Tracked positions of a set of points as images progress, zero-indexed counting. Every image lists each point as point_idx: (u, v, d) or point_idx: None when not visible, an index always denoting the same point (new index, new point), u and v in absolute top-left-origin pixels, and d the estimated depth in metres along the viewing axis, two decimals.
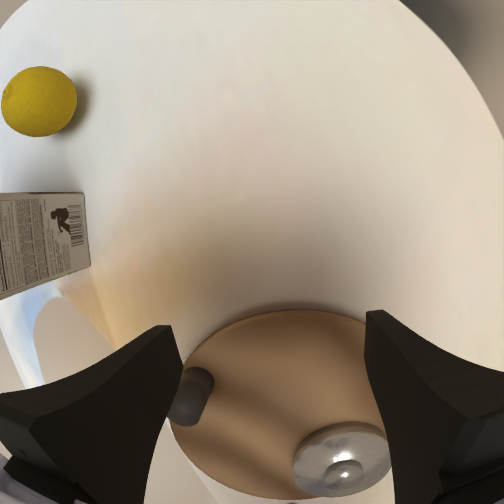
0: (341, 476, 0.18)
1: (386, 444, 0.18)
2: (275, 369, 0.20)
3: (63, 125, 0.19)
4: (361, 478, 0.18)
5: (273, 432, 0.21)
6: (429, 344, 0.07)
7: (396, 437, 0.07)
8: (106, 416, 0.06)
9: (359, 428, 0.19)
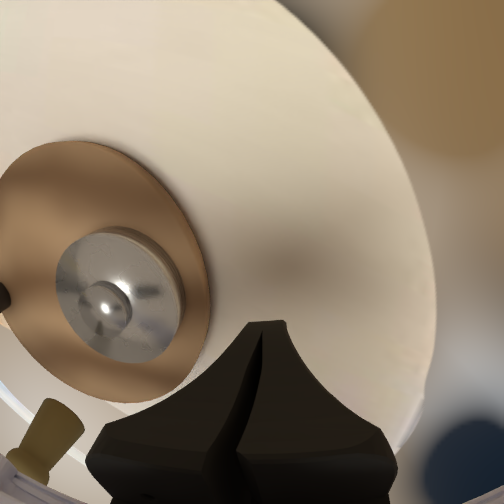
0: (91, 310, 0.15)
1: (106, 235, 0.15)
2: (10, 242, 0.18)
3: None
4: (112, 301, 0.14)
5: (57, 303, 0.19)
6: (297, 362, 0.07)
7: None
8: (241, 429, 0.06)
9: None
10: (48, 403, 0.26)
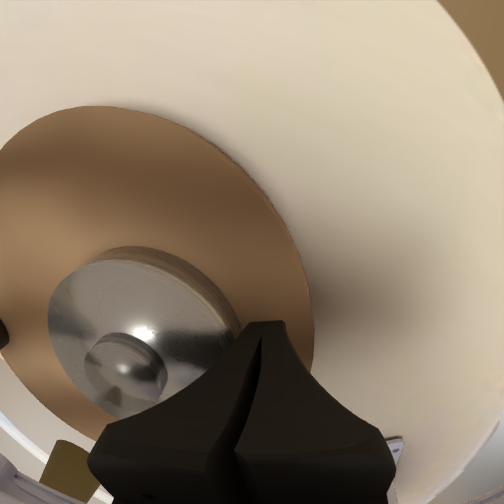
0: (104, 376, 0.09)
1: (123, 264, 0.09)
2: (4, 259, 0.12)
3: None
4: (139, 368, 0.09)
5: None
6: (296, 362, 0.07)
7: None
8: (242, 429, 0.06)
9: (81, 266, 0.10)
10: (63, 447, 0.20)
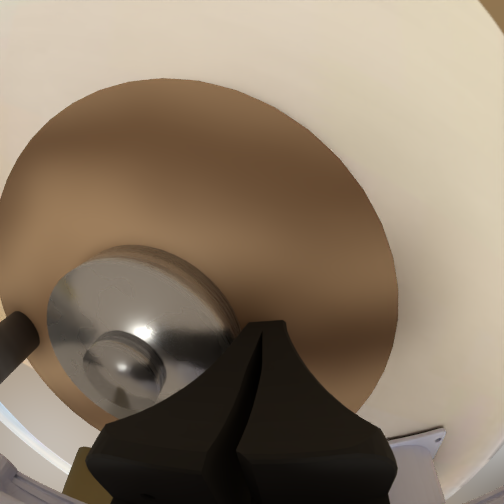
0: (103, 374, 0.09)
1: (124, 263, 0.09)
2: (41, 252, 0.12)
3: None
4: (138, 366, 0.09)
5: None
6: (297, 362, 0.07)
7: None
8: (241, 429, 0.06)
9: None
10: (87, 454, 0.19)
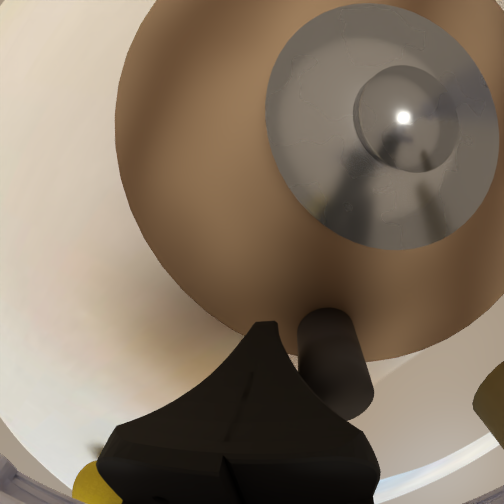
0: (402, 134, 0.07)
1: None
2: (241, 222, 0.11)
3: None
4: (394, 72, 0.06)
5: None
6: (285, 363, 0.07)
7: None
8: None
9: None
10: (485, 392, 0.15)
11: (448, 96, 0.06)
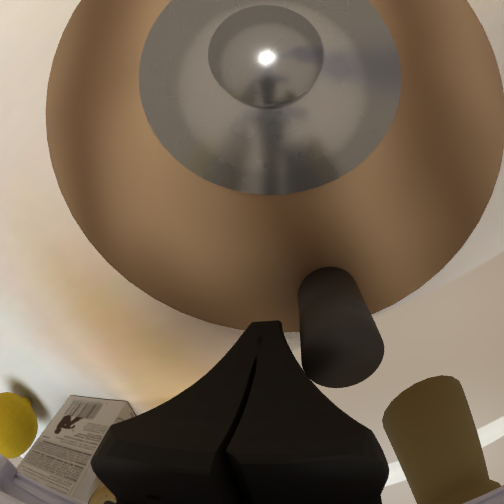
0: (262, 72, 0.07)
1: None
2: (196, 228, 0.12)
3: (20, 406, 0.18)
4: (227, 25, 0.07)
5: None
6: (291, 362, 0.07)
7: None
8: None
9: None
10: (396, 410, 0.15)
11: (290, 11, 0.06)
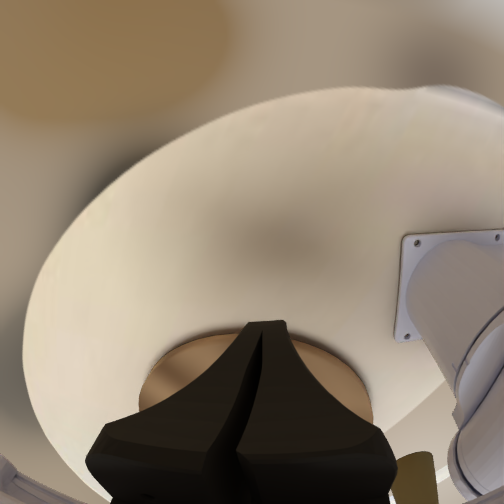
0: None
1: None
2: None
3: None
4: None
5: None
6: (297, 362, 0.07)
7: None
8: (241, 429, 0.06)
9: None
10: None
11: None
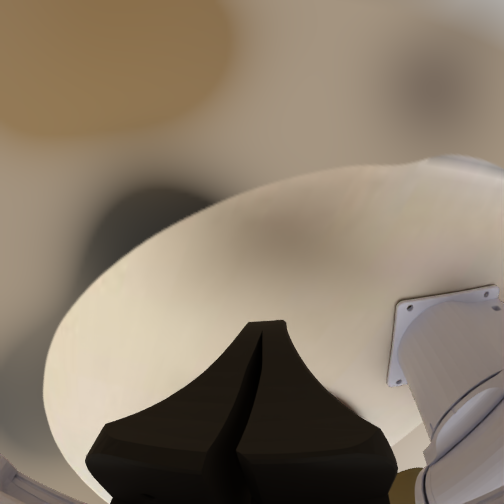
0: None
1: None
2: None
3: None
4: None
5: None
6: (297, 362, 0.07)
7: None
8: (241, 429, 0.06)
9: None
10: None
11: None
